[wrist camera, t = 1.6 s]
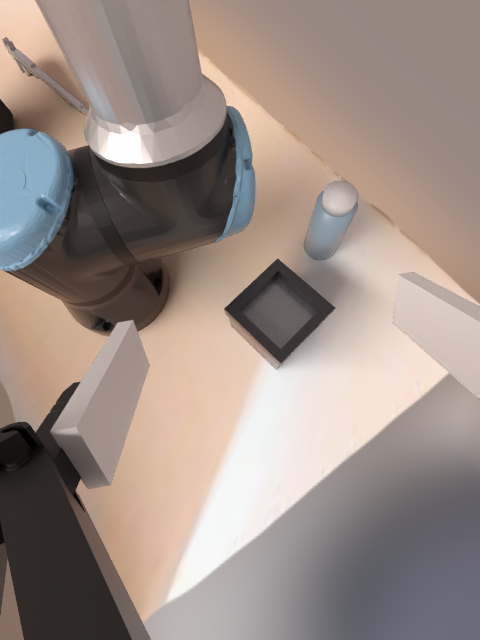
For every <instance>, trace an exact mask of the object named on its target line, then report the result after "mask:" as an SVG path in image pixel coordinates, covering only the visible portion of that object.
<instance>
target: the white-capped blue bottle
mask: <svg viewBox="0 0 480 640" xmlns="http://www.w3.org/2000/svg"><path fill="white" fill-rule="evenodd" d="M357 198H358V193H357V190H356V188H355V187H354V186H353V185H352V184H350V183H348V182H345V181H335V182H332V183H330V184H329V185H327V187H326V188H325V190H324V191H322V192H321V193H320V195H319V196H318V199H317V202H316V205H315V209H314V212H313V215H312V218H311V222H310V225H309V228H308V232H307V235H306V238H305V241H304V249H305V251H306V253H307V254H308V255H309V256H310V257H312V258H314V259H317V260H325V259H328V258H330V257H331V256H332V255H333V254H334V252H335V251H336V249H337V247H338V245H339V243H340V241H341V239H342V237H343V235H344V233H345V231H346V229H347V227H348V226H349V224H350V222H351V220H352V218H353V216H354V214H355V212H356V210H357V206H358V203H357Z"/></svg>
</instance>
